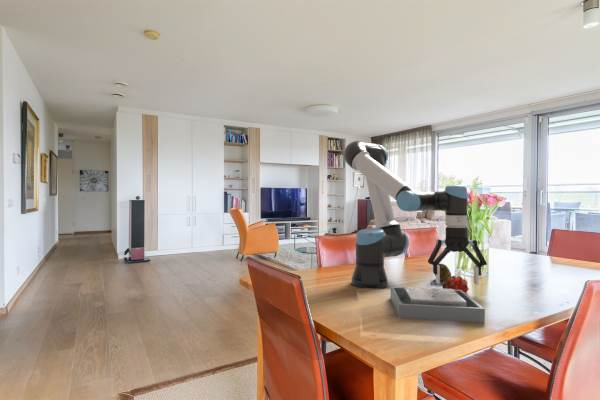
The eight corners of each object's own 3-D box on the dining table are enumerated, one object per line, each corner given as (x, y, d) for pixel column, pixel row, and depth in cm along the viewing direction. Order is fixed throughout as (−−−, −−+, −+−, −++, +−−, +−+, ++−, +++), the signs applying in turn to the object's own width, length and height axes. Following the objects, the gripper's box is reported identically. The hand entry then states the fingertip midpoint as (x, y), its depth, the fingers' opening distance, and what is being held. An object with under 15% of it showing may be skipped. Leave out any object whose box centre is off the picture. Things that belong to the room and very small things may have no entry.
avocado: (458, 280, 152) (459, 262, 152) (444, 284, 144) (444, 265, 144) (441, 276, 159) (441, 259, 159) (426, 280, 151) (426, 262, 151)
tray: (398, 321, 101) (398, 304, 101) (390, 300, 121) (390, 286, 120) (484, 326, 97) (484, 308, 97) (461, 304, 117) (461, 290, 117)
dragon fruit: (440, 302, 125) (463, 303, 130) (458, 293, 119) (480, 294, 124) (432, 280, 130) (454, 282, 135) (448, 271, 124) (470, 273, 129)
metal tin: (410, 315, 103) (410, 298, 103) (403, 301, 117) (403, 286, 117) (466, 318, 101) (466, 301, 101) (452, 303, 115) (452, 288, 115)
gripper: (423, 227, 125) (424, 284, 125) (496, 227, 121) (496, 286, 121) (419, 225, 132) (420, 280, 132) (487, 226, 129) (488, 282, 128)
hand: (456, 283), depth 127 cm, fingers open, 13 cm apart
